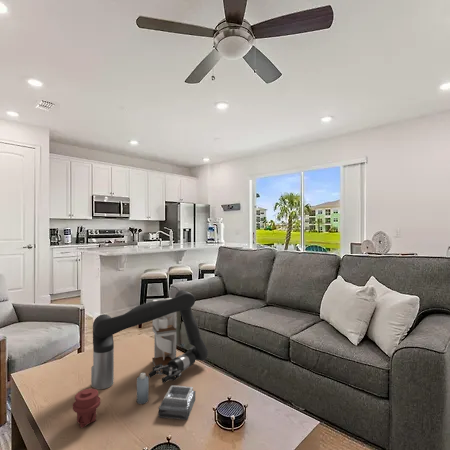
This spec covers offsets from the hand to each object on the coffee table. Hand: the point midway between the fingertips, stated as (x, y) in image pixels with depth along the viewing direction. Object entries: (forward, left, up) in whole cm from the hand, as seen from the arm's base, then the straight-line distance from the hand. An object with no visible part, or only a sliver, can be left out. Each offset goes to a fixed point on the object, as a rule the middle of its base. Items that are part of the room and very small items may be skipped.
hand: (155, 378), depth 143 cm
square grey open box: (+14, -10, -7) cm, 18 cm away
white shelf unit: (-5, +28, -7) cm, 29 cm away
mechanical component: (-19, -24, -7) cm, 32 cm away
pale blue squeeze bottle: (-3, -7, -7) cm, 10 cm away
